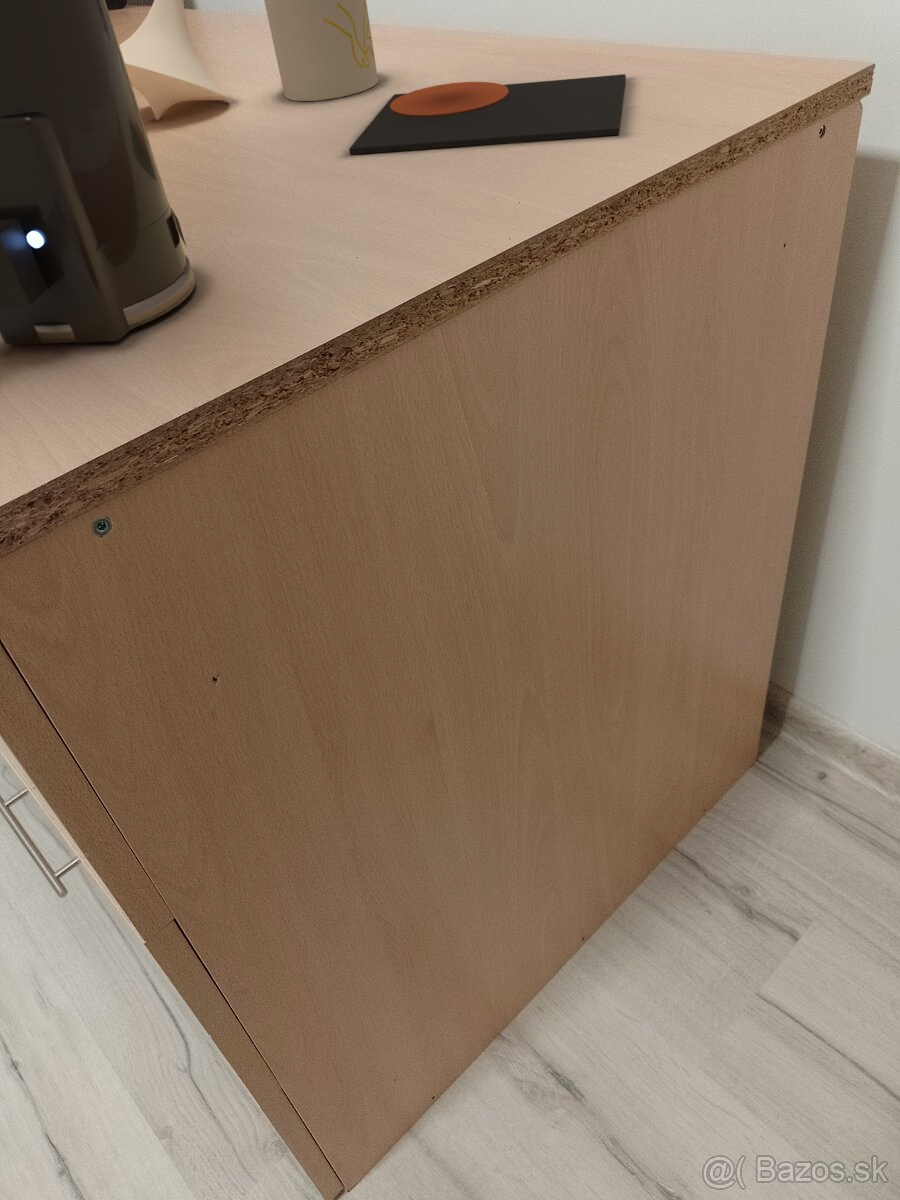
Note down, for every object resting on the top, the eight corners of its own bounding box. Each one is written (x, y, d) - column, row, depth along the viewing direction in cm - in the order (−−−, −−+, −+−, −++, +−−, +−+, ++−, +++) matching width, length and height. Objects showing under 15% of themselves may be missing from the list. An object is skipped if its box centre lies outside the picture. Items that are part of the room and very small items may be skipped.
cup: (363, 96, 73) (334, -88, 65) (271, 104, 75) (231, -75, 67) (388, 72, 79) (364, -100, 71) (301, 79, 80) (268, -87, 72)
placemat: (618, 134, 57) (618, 126, 57) (350, 154, 61) (348, 146, 60) (626, 75, 68) (626, 67, 68) (398, 94, 72) (397, 87, 72)
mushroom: (88, -73, 64) (80, 109, 71) (240, -22, 67) (219, 148, 74) (113, -76, 72) (103, 87, 79) (248, -31, 75) (228, 123, 82)
